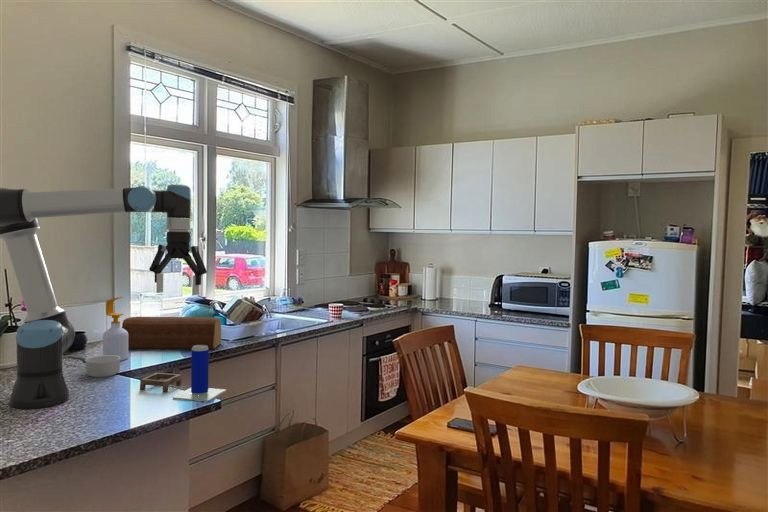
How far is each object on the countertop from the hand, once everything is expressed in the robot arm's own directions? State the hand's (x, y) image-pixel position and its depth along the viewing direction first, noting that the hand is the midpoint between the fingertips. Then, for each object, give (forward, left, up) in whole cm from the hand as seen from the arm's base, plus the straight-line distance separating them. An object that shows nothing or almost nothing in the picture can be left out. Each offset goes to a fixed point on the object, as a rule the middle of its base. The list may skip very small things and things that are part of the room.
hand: (177, 293), depth 193 cm
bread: (+51, +32, -31) cm, 67 cm away
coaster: (-12, -15, -30) cm, 36 cm away
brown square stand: (-8, +1, -30) cm, 31 cm away
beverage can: (-12, -15, -30) cm, 35 cm away
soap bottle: (+23, +40, -31) cm, 56 cm away
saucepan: (+2, +34, -31) cm, 46 cm away
